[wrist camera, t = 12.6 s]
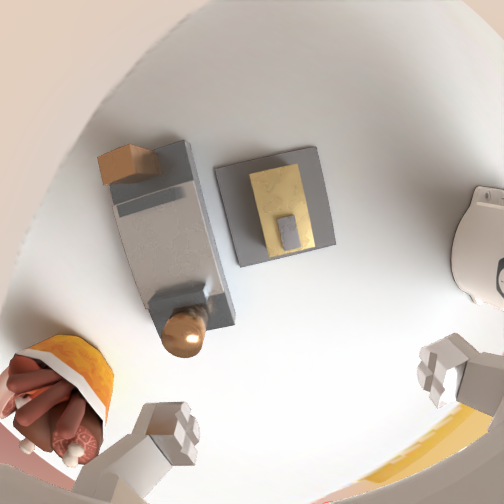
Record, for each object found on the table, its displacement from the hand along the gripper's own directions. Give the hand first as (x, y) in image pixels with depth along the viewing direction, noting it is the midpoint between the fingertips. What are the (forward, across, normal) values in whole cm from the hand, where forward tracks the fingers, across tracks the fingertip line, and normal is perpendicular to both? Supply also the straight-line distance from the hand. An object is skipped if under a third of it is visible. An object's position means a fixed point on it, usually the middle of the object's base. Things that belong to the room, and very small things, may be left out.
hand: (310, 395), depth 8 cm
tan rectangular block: (+23, -2, -4) cm, 23 cm away
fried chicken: (+24, +31, +12) cm, 41 cm away
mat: (+24, -2, -4) cm, 24 cm away
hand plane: (+24, +10, -2) cm, 26 cm away
